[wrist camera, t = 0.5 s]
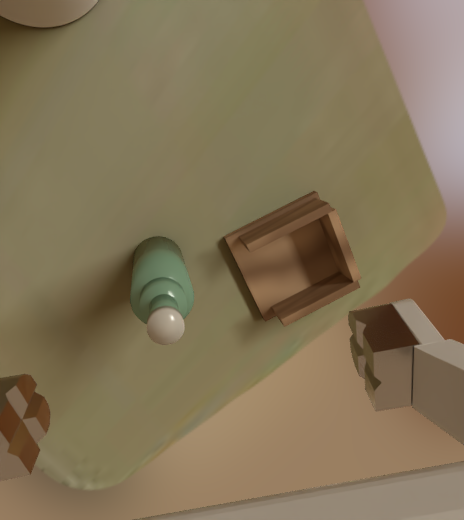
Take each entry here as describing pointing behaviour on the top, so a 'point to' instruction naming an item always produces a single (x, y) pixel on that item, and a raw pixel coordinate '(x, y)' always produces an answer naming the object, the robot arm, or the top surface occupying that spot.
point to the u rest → (295, 259)
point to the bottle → (161, 289)
